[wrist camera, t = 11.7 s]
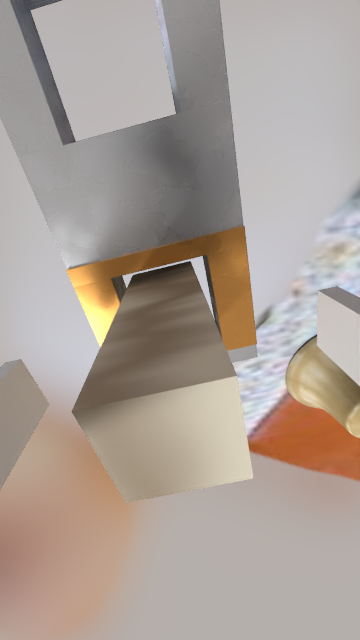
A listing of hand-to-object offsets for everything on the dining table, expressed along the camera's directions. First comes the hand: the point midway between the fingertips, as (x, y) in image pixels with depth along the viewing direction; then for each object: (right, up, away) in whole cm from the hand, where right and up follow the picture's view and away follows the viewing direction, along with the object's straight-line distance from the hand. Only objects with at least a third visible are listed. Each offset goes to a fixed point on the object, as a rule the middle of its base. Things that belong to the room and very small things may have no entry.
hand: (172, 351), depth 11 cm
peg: (0, +3, +6) cm, 7 cm away
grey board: (-2, +8, +4) cm, 9 cm away
